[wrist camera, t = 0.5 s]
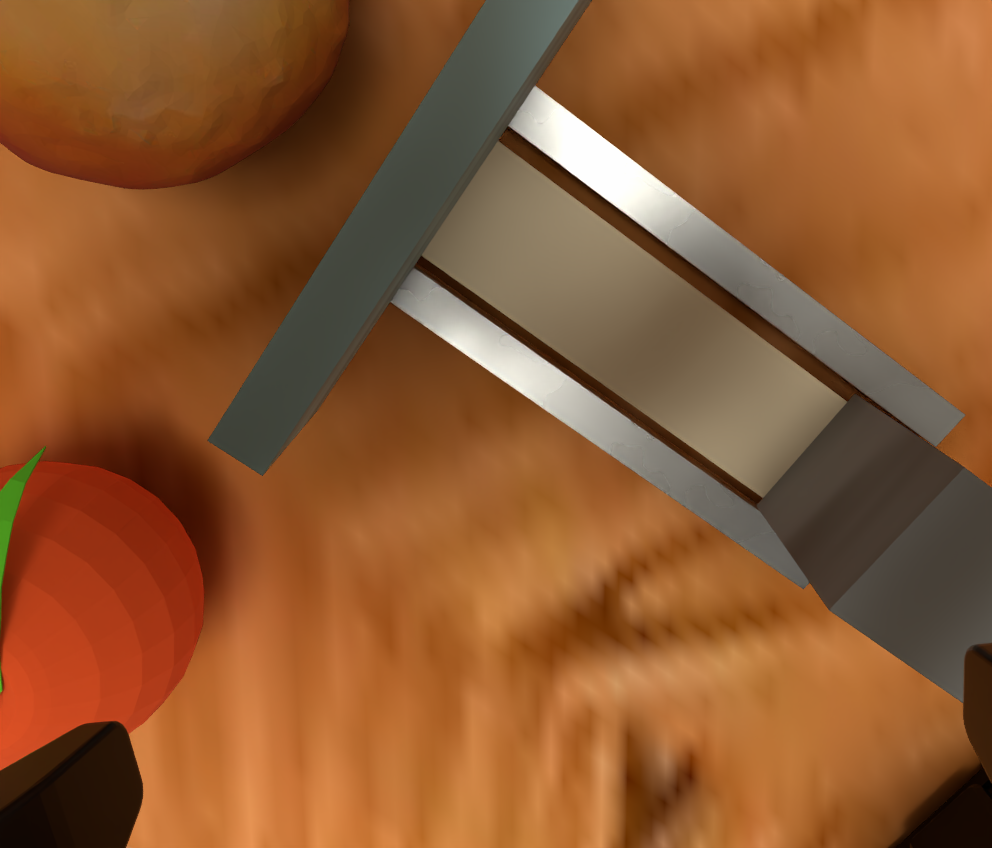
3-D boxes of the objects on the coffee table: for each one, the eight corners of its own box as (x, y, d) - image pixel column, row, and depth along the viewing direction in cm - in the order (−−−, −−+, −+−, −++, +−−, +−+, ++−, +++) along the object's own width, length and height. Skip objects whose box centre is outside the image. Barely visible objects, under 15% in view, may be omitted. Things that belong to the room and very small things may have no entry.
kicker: (1079, 331, 20) (1307, 398, 14) (749, 680, 23) (826, 852, 17) (575, -76, 17) (602, -194, 12) (285, 372, 21) (195, 451, 15)
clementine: (4, 355, 21) (-242, 443, 14) (271, 424, 21) (155, 543, 15) (-20, 622, 23) (-242, 808, 17) (221, 680, 24) (101, 886, 17)
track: (948, 406, 21) (966, 414, 20) (793, 574, 22) (803, 589, 21) (527, 83, 19) (528, 80, 18) (389, 292, 20) (383, 297, 19)
